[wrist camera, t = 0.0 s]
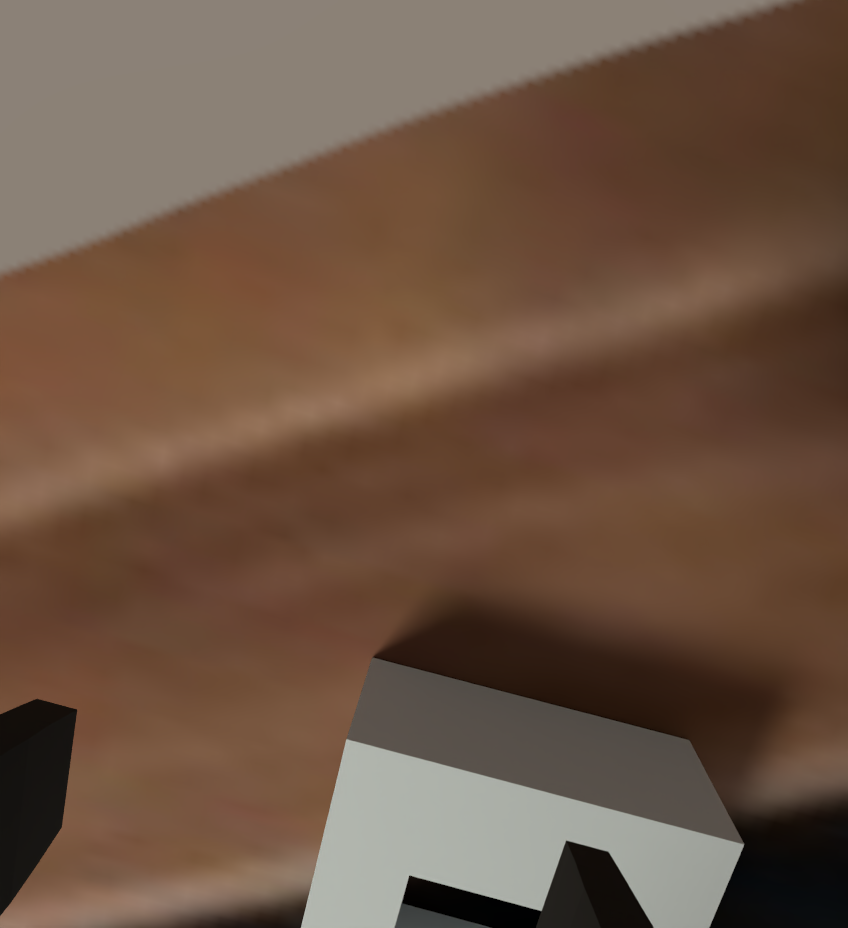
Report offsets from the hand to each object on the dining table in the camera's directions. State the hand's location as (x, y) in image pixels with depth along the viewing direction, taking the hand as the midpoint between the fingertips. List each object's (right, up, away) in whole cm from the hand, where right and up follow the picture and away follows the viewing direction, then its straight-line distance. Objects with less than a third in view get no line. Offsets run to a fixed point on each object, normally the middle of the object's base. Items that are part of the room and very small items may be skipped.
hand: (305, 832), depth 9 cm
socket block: (+3, -8, +12) cm, 14 cm away
